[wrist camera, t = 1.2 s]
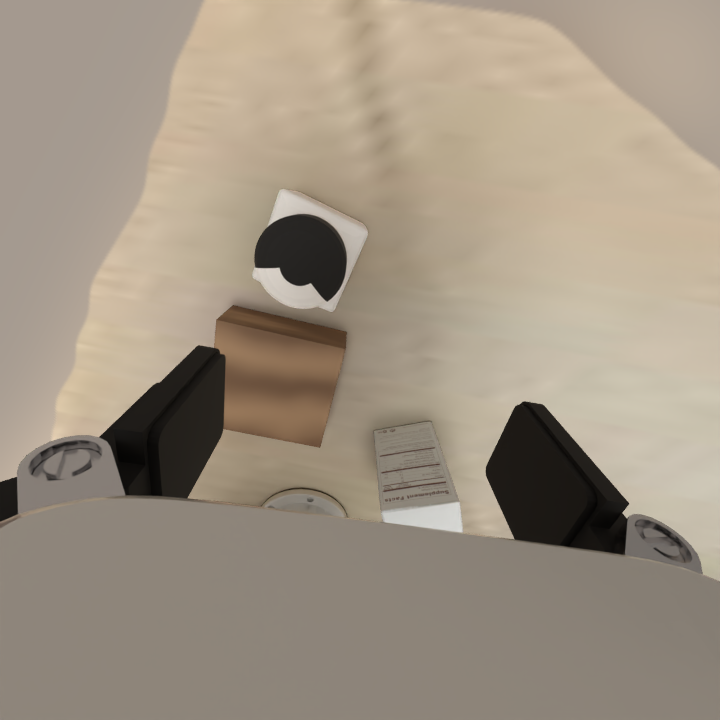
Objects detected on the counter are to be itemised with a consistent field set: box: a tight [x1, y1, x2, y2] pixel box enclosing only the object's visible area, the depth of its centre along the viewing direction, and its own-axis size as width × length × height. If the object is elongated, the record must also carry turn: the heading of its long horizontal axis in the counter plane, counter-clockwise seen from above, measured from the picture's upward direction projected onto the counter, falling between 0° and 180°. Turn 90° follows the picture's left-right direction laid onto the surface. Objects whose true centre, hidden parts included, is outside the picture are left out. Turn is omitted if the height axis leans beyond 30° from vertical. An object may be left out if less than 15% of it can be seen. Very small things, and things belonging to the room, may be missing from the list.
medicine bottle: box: [252, 189, 368, 312], centre depth 27 cm, size 7×7×12 cm
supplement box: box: [374, 422, 463, 533], centre depth 38 cm, size 7×7×13 cm
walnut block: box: [214, 305, 347, 447], centre depth 36 cm, size 12×12×5 cm
